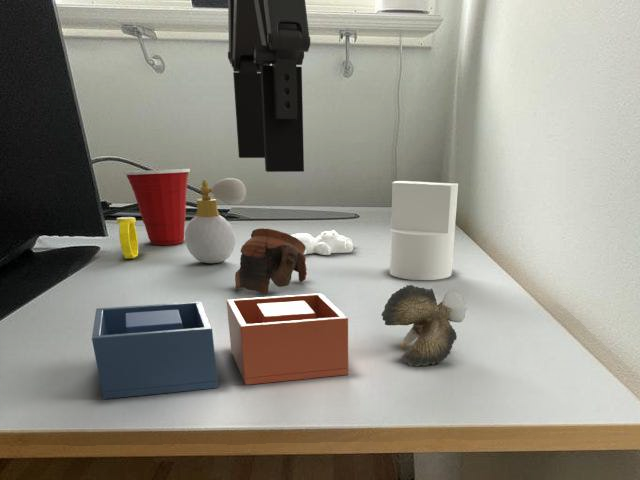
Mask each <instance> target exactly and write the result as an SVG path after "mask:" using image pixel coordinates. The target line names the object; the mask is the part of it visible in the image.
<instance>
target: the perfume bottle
mask: <svg viewBox="0 0 640 480" xmlns="http://www.w3.org/2000/svg"><path fill="white" fill-rule="evenodd" d="M201 185H202V186H201V187H200V193H201V194H202V196H201V198H198V199H196V200H195V201H196V207H197V208H196V215H195V216H194V217H192V218H191V219H190V221H189V222H188V224H187V225H186V227H185V231H184V241H185V246H186V248H187V250H188V252H189V253H190V255H191V256H192V257H193V258H194V259H195V260H197V261H199V262H201V263H203V264H217V263H223V262H224V261H226V260H227V259H229V258H230V257H231V255H232V254H233V252H234V249H235V246H236V236H235V231H234V229H233V227H232V225H231V223H230V222H229V221H228V220H227V219H226V218H225V217H224V216H222V215H220V212H219V210H218V201H217V200H219V201H220V202H222V203H224V204H228V205H237V204H241V203H242V202H244V201H245V200H244V199H246V195H247V188H246V186H245V184H244V183H243V181H241V180H240V179H238V178H234V177H227V178H222V179H219V180H218V181H217V182H216V183H214V184H213V185H212V187H211V188H210V187H209V186H208V185H209V184H208V182H207V180H206V179H203V181H202V183H201ZM210 193H211V194H212V195H213V196H214V198H211V195H210Z"/></svg>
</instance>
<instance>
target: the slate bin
mask: <svg viewBox="0 0 640 480" xmlns="http://www.w3.org/2000/svg"><path fill="white" fill-rule="evenodd" d="M163 310H179V314H180V317H181V321H182V326H183V329H178V330H165V331H153V332H140V333H126V318H125V314H126V313H135V312H149V311H163ZM91 341H92V347H93V351H94V357H95V362H96V367H97V372H98V377H99V384H100V388H101V392H102V398H103V400H110V399H111V400H112V399H121V398H122V399H123V398H130V397H140V396H149V395H150V396H152V395H160V394H161V395H162V394H170V393H171V394H172V393H179V392H189V391H200V390H209V389H218V388H219V381H218V372H217V364H216V363H217V362H216V354H215V353H216V352H215V345H214V333H213V328H212V325H211V323H210V320H209V318H208V315H207V312H206V310H205V307H204V304H203V303H202V301H188V302H173V303H171V302H169V303H157V304H141V305H128V306H127V305H125V306H112V307H99V308H97V307H96V309H95V315H94V322H93V330H92V335H91Z"/></svg>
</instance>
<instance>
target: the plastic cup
mask: <svg viewBox="0 0 640 480" xmlns="http://www.w3.org/2000/svg"><path fill="white" fill-rule="evenodd" d="M190 171H191V169H190V168H177V169H173V168H172V169H156V170H135V171H124V172H123V174H124V176H126V178H127V180H128V182H129V184H130V187H131V189H132V191H133V194H134V197H135V200H136V204H137V206H138V209H139V213H140V216H141V219H142V220H141V221H142V223H143V224H144V228H145V231H146V234H147V237H148V240H149V242H150V244H151V245H155V246H174V245H179V244H182V243H184V241H185V231H186V227H185V224H186V215H187V213H186V211H187V189H188V178H189V173H190Z"/></svg>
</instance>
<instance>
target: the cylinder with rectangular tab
mask: <svg viewBox="0 0 640 480" xmlns="http://www.w3.org/2000/svg"><path fill="white" fill-rule="evenodd" d="M458 191H459V183H451V182H433V181H414V180H413V181H411V180H395V181H392V183H391V211H390V212H391V213H390V248H389V249H390V250H389V274H390V275H391V276H392V277H394V278H398V279H404V280H409V281H411V280H412V281H437V280H443V279H447V278H449V277H451V276H452V275H453V273H452V272H453V263H454V262H453V260H454V246H455V245H454V244H455V235H456V233H455V232H456V219H457V207H458V204H457V203H458V194H459V193H458Z"/></svg>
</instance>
